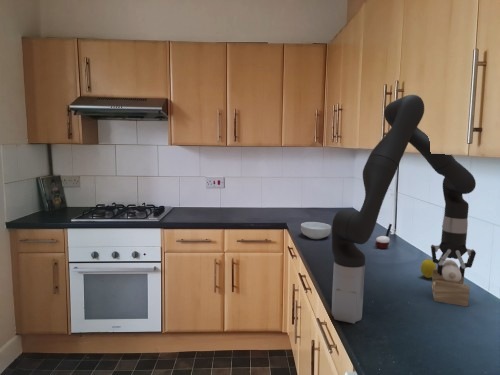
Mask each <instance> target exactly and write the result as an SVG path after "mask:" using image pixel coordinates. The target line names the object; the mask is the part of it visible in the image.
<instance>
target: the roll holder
mask: <svg viewBox="0 0 500 375" xmlns="http://www.w3.org/2000/svg"><path fill="white" fill-rule="evenodd" d="M431 278H432V279H431V281H432V282H431V290H432V295H433V296H432V297H433V300H434V302H439V303H445V304H450V305H456V306H463V307H468V306H469V300H470V299H469V297H470V288H471V286H470V284H465V283H464V280H465V276H464V277H462V279H461V280H460V281H459V282H457V283H450V282H447V281H446V280H445V279H444V278H443V274H442V276H441V275H439V274H438V272H437V268H436V269H433V277H431Z"/></svg>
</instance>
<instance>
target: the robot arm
mask: <svg viewBox="0 0 500 375" xmlns="http://www.w3.org/2000/svg"><path fill="white" fill-rule="evenodd" d="M424 113H425V102H424V100H423V99H422V98H421V97H420V96H419V95H417V94H408V95H405V96H403V97H400V98H398V99H396V100H394V101H391V102H389V103H388V104H387V105H386V107H385V108H384V115H383V116H384V119H385V121H386V123H387V124H388V125H389V126H390V129H389V130H388V132H387V133H386V135H385V134H384V136H383V137H382V138H381V140H380V141H379V142H377V144H376V146H374V148H373V149H372V150H371V152H370V154H369V156H368V158H367V159H366V163H365V165H364V167H363V170H362V181H363V182H362V183H363V186H364V192H365V193H364V200H363V203H362V206H361V208H360V210H359V211H355V210H350V209H340V210H339V211H337V212H336V213H335V215H334V217H333V220H332V223H331V250H332V255H333V269H332V270H333V272H332V273H333V275H332V276H333V277H332V291H331V292H332V293H331V316H332V317H333V320H335V321H339V322H344V323H350V324H356V323H357V322H359V321H361V320H362V318H363V308H364V307H363V305H364V304H363V302H364V286H365V269H366V268H365V267H366V255H365V254H364V253H363V252H362V251H361V250H360V249H359V248H358V247H357V245H364V244H366V243H368V241H369V240H370V238H372V235H373V233H374V230H375V227H376V225H377V224H376V223H377V221H378V218H379V215H380V211H381V208H382V206H383V203H384V200H385V198H386V195H387V192H388V191H389V188H390V185H391V184H392V181H393V179H394V177H395V175H396V172H397V170H398V168H399V166H400V163H401V160H402V157H403V156H404V153H405V152H406V149H407V146H408V144H410V145H411V146H412V147H413V148H414V149H415V150H416V151H418V152H419V153H420V155H421V156H422V157H423V158H424V159H425V160H426V162H427V163H428V164H429V166H431V168H432V169H433V171H434V172H436V173H437V174H438V175H441V176H442V177H444V178H443V180H442V192H443V198H444V203H445V204H444V205H445V206H444V212H443V213H444V216H443V219H442V220H443V221H442V226H441V229H442V230H441V239H440V244H439V245H434V244H432V245H430V249H431V259H432V261H433V262H434V263H435V264H436V265H437V266H436V269H437V272H438V274H439V275H441V276H442V267H443V266H442V264H443V262H444V261H445V260H447V259H454V260H458V263H459V265H460V266H458V267H459V270H460V272H461V275H462V277H464V278H465V270H466V268H467V269H468V268H472V266H473V264H474V261H475V258H476V254H477V252H476V250H475V249H473V248H472V249H469V248H467V238H468V237H467V236H468V226H469V225H468V224H469V223H468V222H469V221H468V217H469V203H468V202H467V201H466V200H465V199H464V197H463V195H468V194H470V193H472V192H473V191H474V190H475V189H476V179H475V176H474V175H473V173H471V172H470V170H468V169H467V168H466V167H464V166H463V164H461V163H460V162H458V161H457V160H456V159H455V157H454V156H453V155H452V154H451V155H445V154H431V152H430V141H429V138H428V136H427V135H428V134H427V133H426V132H424V131H423V130H421V129H420V128H419V124H420V123H421V120H422V119H423V117H424V115H425V114H424ZM425 133H426V134H427V135H426V134H425ZM356 244H357V245H356ZM438 250H440V252H442V253H441V255H440V256H439V258H437V252H438ZM466 253H467V256H468V258H467V261H466V262H464V259H463V255H465V254H466ZM462 277H461V279H462Z"/></svg>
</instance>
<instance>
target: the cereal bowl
mask: <svg viewBox="0 0 500 375" xmlns="http://www.w3.org/2000/svg"><path fill="white" fill-rule="evenodd" d="M300 231H301V232H302V234H303V235H304V236H306V237H308V238H309V239H312V240H321V239H323V238H326V237H328V236H329V235H330V234H331V233H332V225H330V224H327V223H324V222H319V221H318V222H317V221H306V222H302V223H301V224H300Z"/></svg>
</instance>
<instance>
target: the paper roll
mask: <svg viewBox="0 0 500 375" xmlns="http://www.w3.org/2000/svg"><path fill="white" fill-rule="evenodd" d="M442 266H443V267H442V274H443V278H444V279H445V280H446V281H447V282H450V283H457V282H459V281H460V280H461V277H462V275H461V272H460V270H459V267H460V266H459V265H458V263H457V262H456V261H455V260H453V259H446V260H445V261H444V262H443V264H442Z"/></svg>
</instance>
